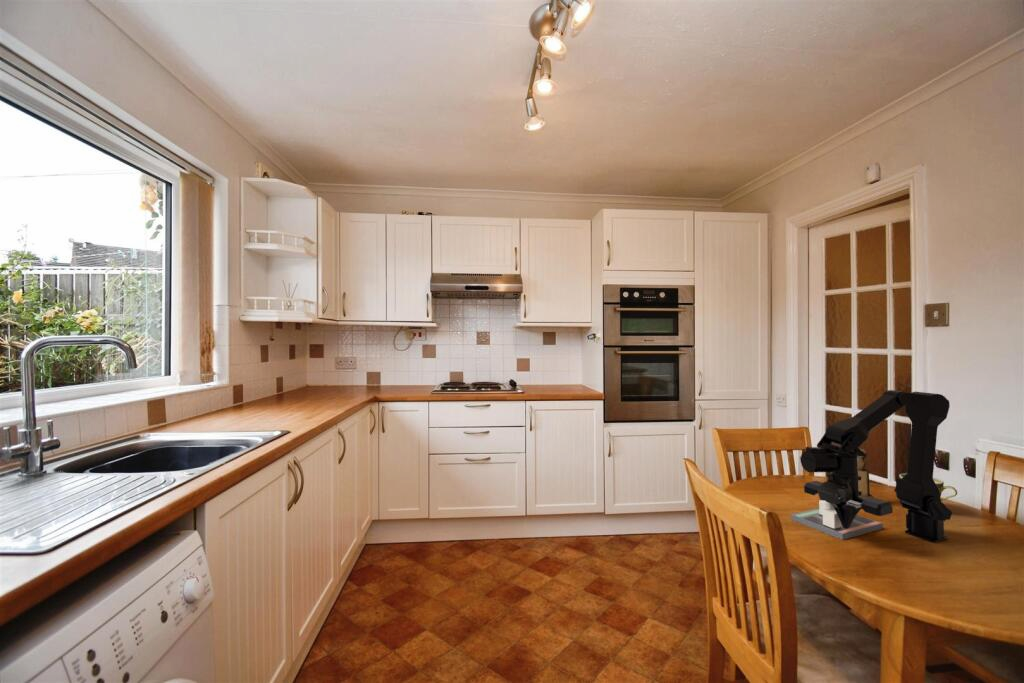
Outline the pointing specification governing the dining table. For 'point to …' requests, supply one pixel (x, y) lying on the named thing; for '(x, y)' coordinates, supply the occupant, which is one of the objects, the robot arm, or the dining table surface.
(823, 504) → the handle
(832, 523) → the handle
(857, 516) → the breaker panel
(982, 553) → the dining table surface
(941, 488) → the ceramic cup
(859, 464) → the brown statuette
